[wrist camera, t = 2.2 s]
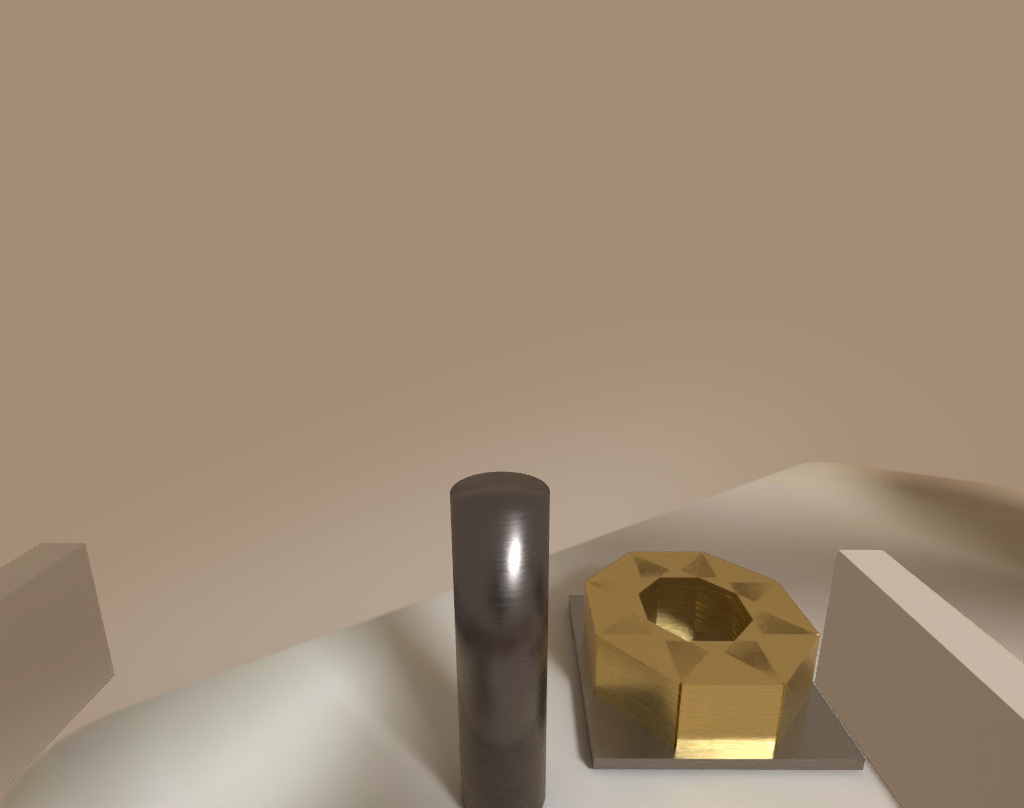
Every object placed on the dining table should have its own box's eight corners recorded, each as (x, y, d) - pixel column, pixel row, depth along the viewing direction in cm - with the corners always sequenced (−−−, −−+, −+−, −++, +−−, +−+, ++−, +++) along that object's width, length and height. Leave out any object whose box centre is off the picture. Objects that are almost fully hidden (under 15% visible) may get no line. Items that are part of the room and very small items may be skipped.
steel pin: (543, 753, 25) (547, 471, 22) (547, 832, 22) (552, 513, 18) (465, 753, 25) (455, 471, 22) (457, 832, 22) (444, 513, 18)
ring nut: (751, 603, 36) (758, 547, 35) (863, 769, 24) (878, 694, 23) (568, 603, 36) (570, 547, 35) (593, 769, 25) (596, 693, 23)
